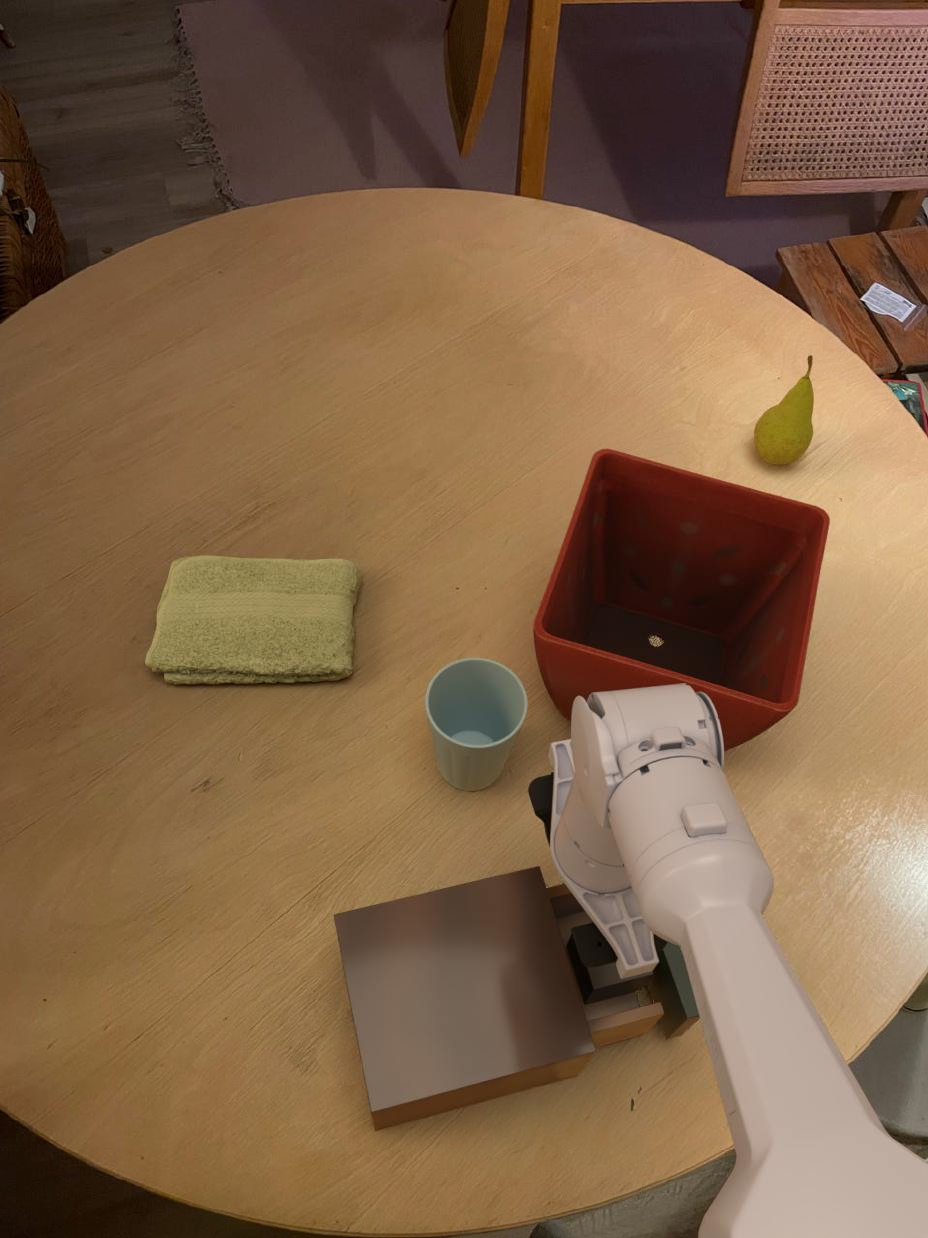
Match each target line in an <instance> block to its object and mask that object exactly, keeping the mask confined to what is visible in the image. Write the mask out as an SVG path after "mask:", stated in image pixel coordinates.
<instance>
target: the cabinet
mask: <svg viewBox="0 0 928 1238" xmlns="http://www.w3.org/2000/svg"><path fill="white" fill-rule="evenodd" d="M547 888H548V887H547V886H546V882H545V879H544V876H543V873H542V870H541V866H540V865H536V866H533V867H528V868H525V869H520V870H515V871H512V872H507V873H504V874H499V875H495V876H490V877H486V878H482V879H477V880H474V881H471V882H470V881H469V882H465V883H460V884H457V885H453V886H447V887H443V888H440V889H436V890H431V891H427V892H422V893H418V894H414V895H410V896H407V897H406V896H405V897H402V898H401V897H400V898H398V899H393V900H389V901H385V902H381V903H380V902H379V903H377V904H372V905H368V906H364V907H359V908H355V909H351V910H346V911H342V912H338V913H334V914H333V920H334V924H335V931H336V937H337V941H338V947H339V951H340V956H341V962H342V968H343V973H344V978H345V983H346V988H347V995H348V1000H349V1004H350V1010H351V1015H352V1019H353V1021H352V1022H353V1025H354V1031H355V1037H356V1041H357V1046H358V1047H357V1048H358V1052H359V1057H360V1062H361V1068H362V1073H363V1078H364V1083H365V1088H366V1089H365V1090H366V1094H367V1100H368V1105H369V1109H370V1116H371V1119H372V1124H373V1129H374V1132H379V1131H382V1130H386V1129H389V1128H393V1127H396V1126H400V1125H403V1124H404V1125H405V1124H408V1123H411V1122H414V1121H419V1120H423V1119H426V1118H429V1117H434V1116H437V1115H440V1114H445V1113H448V1112H451V1111H456V1110H458V1109H463V1108H466V1107H470V1106H474V1105H477V1104H481V1103H485V1102H488V1101H492V1100H495V1099H499V1098H503V1097H506V1096H510V1095H513V1094H516V1093H521V1092H525V1091H527V1090H531V1089H534V1088H535V1089H536V1088H539V1087H543V1086H545V1085H549V1084H554V1083H557V1082H561V1081H563V1080H568V1079H572V1078H575V1077H578V1076H579V1075H580V1073H581V1072H582V1071H583V1069H584V1068H585V1067H586V1065H588V1063H589V1062H590V1060H591V1059H592V1058H593V1056H594V1055H595V1054H596V1053H597V1049H596V1048H595V1046H594V1042H593V1039H592V1036H591V1032H590V1029H589V1026H588V1023H587V1019H586V1016H585V1013H584V1010H583V1006H582V1003H581V1000H580V996H579V993H578V990H577V987H576V983H575V980H574V977H573V973H572V970H571V967H570V964H569V960H568V957H567V954H566V951H565V947H564V944H563V941H562V937H561V934H560V931H559V928H558V924H557V921H556V918H555V914H554V911H553V908H552V905H551V901H550V898H549V895H548V892H547Z"/></svg>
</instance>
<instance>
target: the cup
mask: <svg viewBox="0 0 928 1238" xmlns="http://www.w3.org/2000/svg"><path fill="white" fill-rule="evenodd" d="M424 705H425V707H424V708H425V712H426V717H427V722H428V726H429V730H430V734H431V741H432V746H433V750H434V755H435V759H436V760H435V761H436V764H437V769H438V772H439V773H440V775H441V776H442V778H443V779H444V781H445V782H446V783H448V784H449V785H450V786H451V787H454V788H455V789H457V790H460V791H464V792H465V791H466V792H476V791H477V792H478V791H481V790H485V789H486V788H489V787H490V786H492V785H493V784H494V783H495V782H496V781H497V780H498V779H499V778H500V775H501V774H502V772H503V769H504V767H505V765H506V762H507V760H508V758H509V756H510V753H511V751H512V749H513V747H514V744H515V742H516V739H517V738H518V735H519V734H520V732H521V729H522V727H523V725H524V723H525V721H526V718H527V714H528V710H529V709H528V708H529V700H528V694H527V691H526V688H525V686H524V684H523V682H522V680H521V679H520V678H519V676H518V675H517V674H516V673H515V672H514V671H513V670H511V669H510V668H509V667H508V666H506V665H504V664H502V663H501V662H498V661H497V660H493V659H489V658H485V657H466V658H465V657H464V658H460V659H457V660H455V661H452V662H450V663H448V664H446V665H445V666H443V667H442V668H441V669H440V670H438V671H437V672H436V673H435V675H434V676H433V677H432V679H431V680H430V682H429V684H428V686H427V688H426V692H425V698H424Z"/></svg>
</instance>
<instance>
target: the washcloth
mask: <svg viewBox="0 0 928 1238" xmlns="http://www.w3.org/2000/svg"><path fill="white" fill-rule="evenodd" d="M361 583H362V573H361V568H360V567H359V566H358V565H357V564H355V562H352V561H351V560H348V559H346V558H343V557H338V558H334V557H328V558H327V557H326V558H317V559H310V558H309V559H308V558H303V557H301V558H295V559H291V558H283V557H281V558H269V557H254V558H253V557H237V556H236V557H235V556H223V555H213V554H211V555H200V554H198V555H195V556H186V555H185V556H184V557H179V558H176V559H175V560H173V561H172V562H171V565H170V568H169V571H168V577H167V580H166V582H165V585H164V587H163V591H162V593H161V598H160V599H159V602H158V604H157V607H156V615H155V616H156V617H155V619H156V620H155V621H156V626H155V631H154V634H153V638H152V642H151V645H150V647H149V648H148V650H147V652H146V655H145V659H144V664H145V667H146V668H147V669H150V670H152V673H163V678H164V682H165V683H167V684H173V685H174V686H177V685H183V684H185V685H199V684H207V685H220V684H231V683H234V684H237V685H240V684H245V685H246V684H247V685H249V684H251V685H252V684H263V683H265V684H267V683H268V684H276V683H284V684H290V683H292V684H294V683H296V682H298V683H299V682H301V683H304V682H313V683H316V682H317V683H318V682H323V681H329V682H334V681H335V682H337V681H339V680H341V679H345V678H349V677H350V676H351V675H352V674H353V670H354V666H353V664H354V660H353V659H354V658H353V657H354V655H353V651H354V649H355V648H354V644H353V643H354V639H355V636H356V635H355V634H356V631H355V628H354V627H353V617H354V607H355V606H356V603H357V601H358V596H359V595H358V592H359V591H360V589H359V588H360V586H361Z"/></svg>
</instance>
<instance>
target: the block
mask: <svg viewBox="0 0 928 1238" xmlns="http://www.w3.org/2000/svg"><path fill="white" fill-rule="evenodd" d="M566 946H567V949H568V952H569V956H570V959H571V962H572V965H573V969H574V972H575V975H576V978H577V982H578V985H579V988H580V991H581V995H582V998H583V1001H584V1004H585V1005H587V1004H591V1003H594V1002H598V1001H602V1000H606V999H610V998H613V997H617V996H621V995H625V994H629V993H632V992H635V993H636V992H640V991H642V990H643V989H644V988H645V986H646V985H647V982H648V981H649V980H650V979H651V977H652V976H653V975H654V972H653V970H652V971H650V972H646V973H643V974H639V975H635V976H631V977H627V978H623V979H621V978H620V976H619V973H618V970H617V966H616V962H614V963H611V964H607V965H603V966H599V967H586V966H584V964H583V963H582V961H581V959H580V957H579V954H578V951H577V948H576V945H575V942H574V938H573V935H572V934H571V936H570V938H569V940H568V943H567V945H566Z"/></svg>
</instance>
